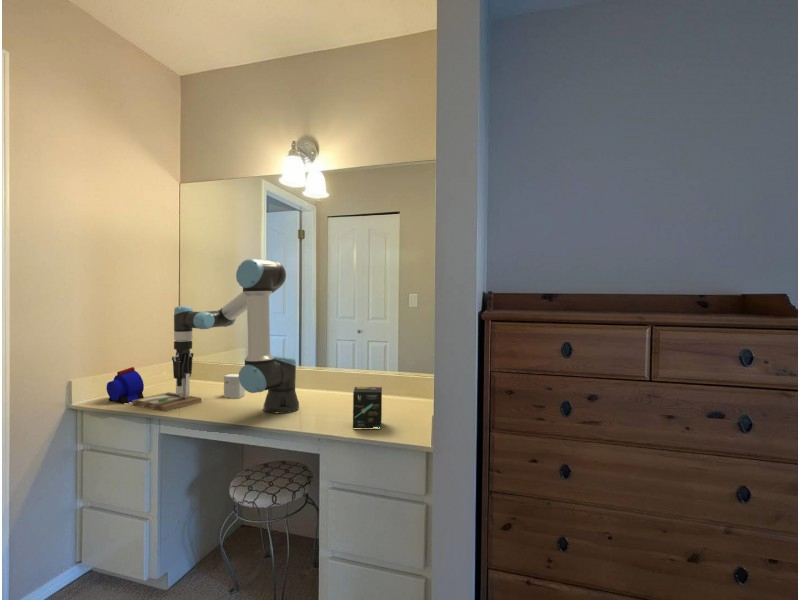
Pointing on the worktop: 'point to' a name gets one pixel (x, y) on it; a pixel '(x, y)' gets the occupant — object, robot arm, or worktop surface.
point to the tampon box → (367, 407)
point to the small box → (233, 386)
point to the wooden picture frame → (166, 401)
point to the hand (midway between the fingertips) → (182, 392)
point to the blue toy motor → (126, 386)
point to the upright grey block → (186, 387)
